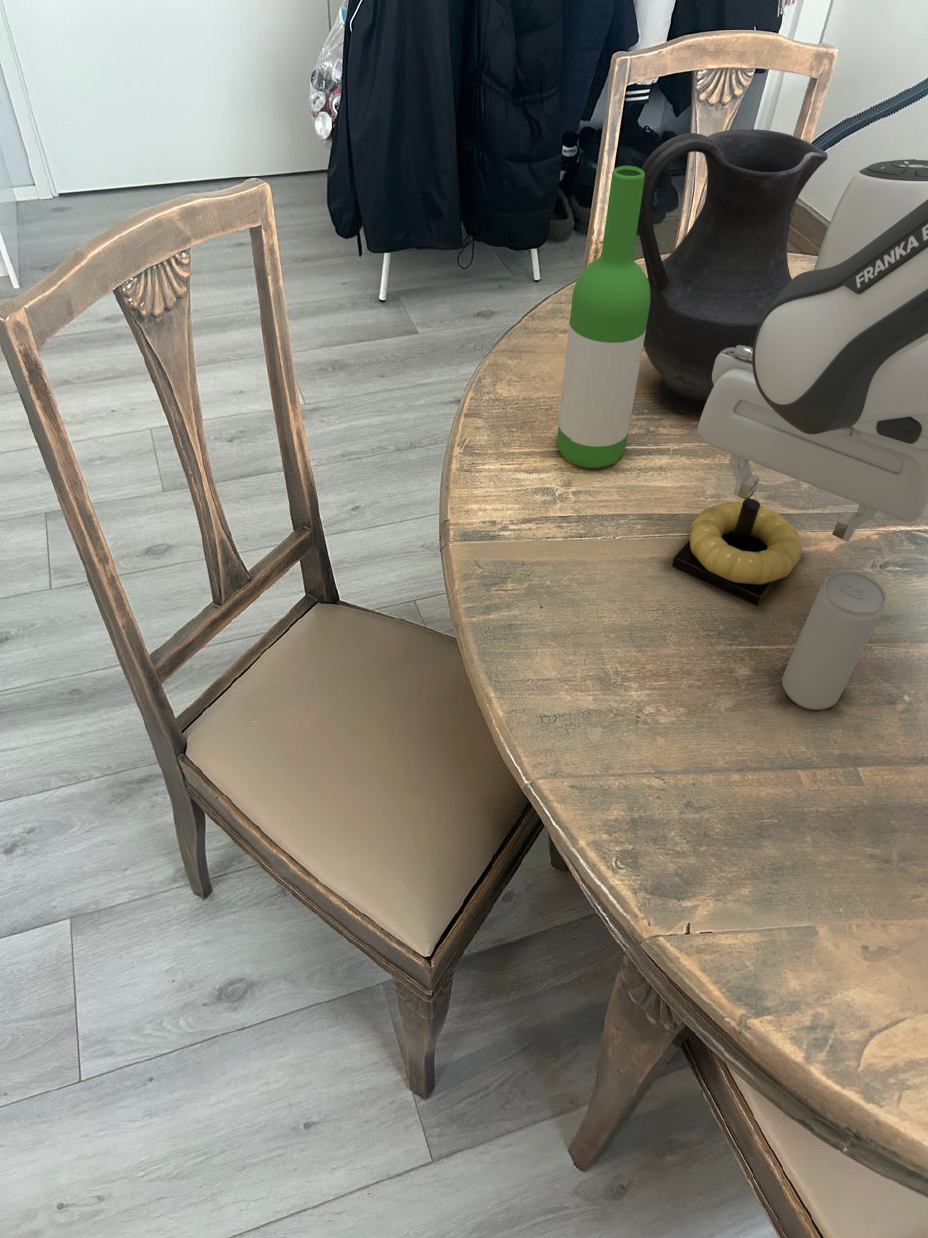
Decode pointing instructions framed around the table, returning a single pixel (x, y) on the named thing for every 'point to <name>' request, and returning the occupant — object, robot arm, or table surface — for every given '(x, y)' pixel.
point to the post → (738, 540)
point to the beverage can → (833, 639)
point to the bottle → (606, 336)
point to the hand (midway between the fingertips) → (791, 514)
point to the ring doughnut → (745, 563)
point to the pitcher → (720, 253)
